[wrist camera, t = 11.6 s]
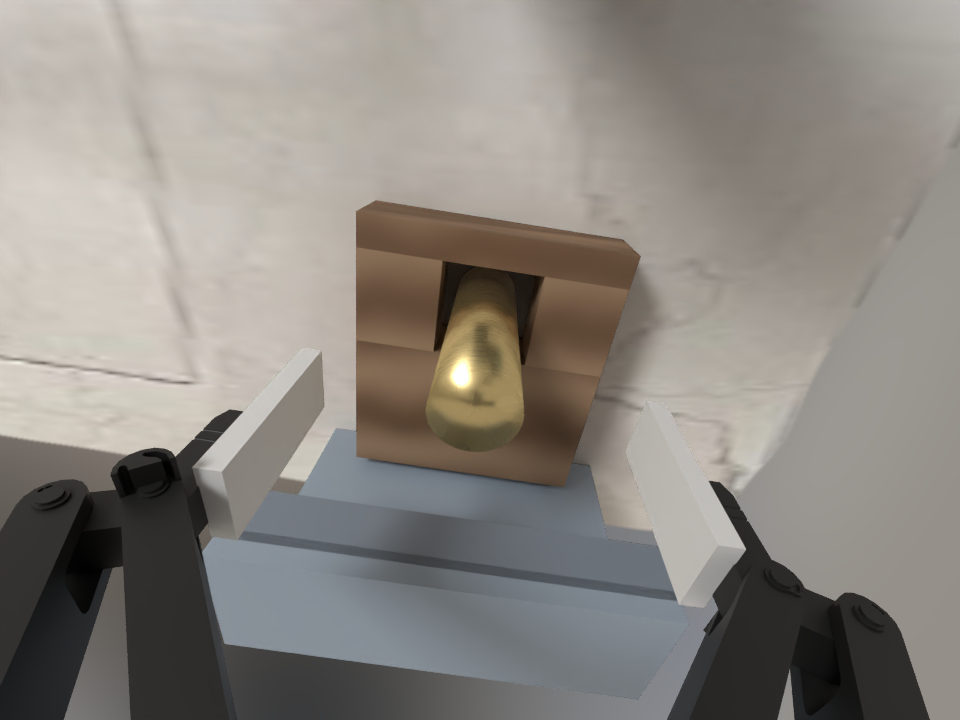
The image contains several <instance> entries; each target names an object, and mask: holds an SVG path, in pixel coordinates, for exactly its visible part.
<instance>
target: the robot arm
mask: <svg viewBox="0 0 960 720" xmlns="http://www.w3.org/2000/svg"><path fill="white" fill-rule="evenodd" d="M323 408H324V389H323V370H322V352H321V351H320V350H314V349H307V348H301V350H300V351H299V352H298V353H297V354H296V355H295V356H294V357H293V358H292V359H291V360H290V362H289V363H288V364H287V365H286V366H285V367H284V368H283V369H282V370H281V371H280V372H279V373H278V375H277V376H276V377H275V378H274V379H273V380H272V381H271V382H270V383H269V384H268V385H267V387H266V388H265V389H264V390H263V391H262V392H261V393H260V394H259V395H258V396H257V397H256V399H255V400H254V401H253V402H252V403H251V404H250V405H249V406H248V407H247V408H246V409H245V410H244V412H243V411H237V410H228V411H226V412H224V413H223V414H221V415H219V416H217V417H215V418H214V419H213V420H212V421H211V422H210V423H209V424H208V425H207V426H206V427H205V428H204V430H203V431H201V432H200V433H199V434H198V435H197V436H196V437H195V439H194V440H192V441H191V442H190V443H189V444H188V445H187V446H186V447H185V448H184V449H183V450H182V451H181V452H180V453H179V454H178V455H177V456H176V457H175V456H174V454H173V453H172V452H171V451H169V450H167V449H162V448H151V449H145V450H141V451H138V452H135V453H132V454H130V455H128V456H126V457H125V458H123V459H122V460H120V461H119V462H118V463H117V464H116V465H115V466H114V467H113V469H112V472H111V478H112V480H113V482H114V485H115V487H116V490H110V491H99V492H89V490H88V488H87V486H86V485H85V484H84V483H83V482H81V481H78V480H74V479H73V480H60V481H56V482H52V483H48V484H46V485H43V486H41V487H39V488H37V489H34V490H33V491H31V492H30V493H28V494H27V495H25V496H24V497H23V498H22V499H21V500H20V501H19V502H18V503H17V505H16V506H15V508H14V509H13V511H12V513H11V515H10V516H9V518H8V519H7V521H6V523H5V524H4V526H3V528H2V529H1V531H0V720H64V717H65V713H66V711H67V707H68V704H69V701H70V698H71V695H72V692H73V689H74V686H75V682H76V679H77V677H78V673H79V670H80V667H81V664H82V661H83V658H84V655H85V652H86V649H87V646H88V642H89V639H90V636H91V633H92V630H93V627H94V624H95V621H96V617H97V614H98V611H99V608H100V605H101V602H102V599H103V596H104V592H105V590H106V587H107V584H108V580H109V577H110V574H111V571H112V568H114V567H121V566H123V569H124V589H125V590H124V591H125V609H126V632H127V653H128V673H129V693H130V713H131V720H237V716H236V711H235V706H234V701H233V697H232V692H231V687H230V682H229V677H228V673H227V668H226V663H225V658H224V654H223V649H222V645H221V639H220V634H219V630H218V625H217V620H216V615H215V610H214V606H213V601H212V596H211V591H210V586H209V582H208V577H207V572H206V567H205V563H204V558H203V553H202V549H201V543H200V539H199V536H198V535H199V534H200V533H201V531H202V530H203V529H204V527H205V526H206V525H207V524H208V527H209V531H210V535H211V537H217V538H224V539H231V540H238V538H239V537H240V535H241V534H242V532H243V531H244V529H245V528H246V526H247V525H248V523H249V522H250V520H251V519H252V517H253V515H254V514H255V512H256V511H257V509H258V508H259V506H260V505H261V503H262V502H263V500H264V499H265V497H266V495H267V494H268V492H269V491H270V489H271V488H272V486H273V485H274V483H275V482H276V480H277V478H278V477H279V476H280V474H281V472H282V471H283V469H284V468H285V466H286V465H287V463H288V462H289V460H290V459H291V457H292V456H293V454H294V452H295V451H296V449H297V448H298V446H299V445H300V443H301V442H302V440H303V439H304V437H305V436H306V434H307V433H308V431H309V429H310V428H311V426H312V425H313V423H314V422H315V420H316V419H317V417H318V416H319V414H320V413H321V411H322V409H323ZM625 453H626V456H627V458H628V461H629V464H630V467H631V470H632V473H633V476H634V478H635V481H636V484H637V487H638V490H639V493H640V495H641V498H642V501H643V504H644V507H645V510H646V513H647V515H648V518H649V521H650V524H651V527H652V530H653V532H654V535H655V538H656V541H657V544H658V547H659V550H660V552H661V555H662V558H663V561H664V564H665V567H666V569H667V572H668V575H669V578H670V581H671V584H672V587H673V589H674V592H675V595H676V598H677V601H678V604H679V605H684V606H691V607H698V608H705V606H706V605H707V604H708V602H709V601H710V600H711V598H712V597H713V598H714V600H715V602H716V604H717V607H718V609H719V610H718V611H717V612H716V614H715V615H714V616H713V618H712V619H711V620H710V622H709V623H708V624H707V626H706V627H705V629H704V631H705V632H706V635H705V637H704V639H703V641H702V643H701V646H700V648H699V650H698V652H697V655H696V657H695V659H694V661H693V663H692V665H691V668H690V670H689V672H688V675H687V677H686V679H685V681H684V683H683V685H682V688H681V690H680V692H679V694H678V697H677V699H676V701H675V703H674V705H673V708H672V710H671V712H670V714H669V716H668V719H667V720H777V718H778V714H779V710H780V706H781V702H782V698H783V694H784V690H785V686H786V682H787V678H788V673H789V669H790V673H791V684H792V695H793V707H794V718H795V720H930V719H929V716H928V713H927V710H926V707H925V704H924V701H923V697H922V695H921V691H920V688H919V686H918V682H917V679H916V676H915V673H914V670H913V668H912V664H911V661H910V658H909V655H908V652H907V649H906V646H905V643H904V640H903V637H902V634H901V632H900V630H899V628H898V626H897V624H896V623H895V621H893V619H892V618H891V617H890V616H889V615H888V613H887V612H885V611H884V610H883V609H882V608H880V607H879V606H878V605H877V604H875V603H874V602H872V601H871V600H869V599H867V598H865V597H863V596H861V595H857V594H855V593H844V594H842V595H841V596H840V597H839V598H838V599H837V600H836V601H834V600H831V599H829V598H827V597H824V596H822V595H819V594H817V593H814V592H812V591H810V590H807V589H805V588H804V586H803V584H802V582H801V581H800V580H799V579H798V578H797V576H795V574H794V573H793V572H791V571H790V570H789V569H787V568H786V567H785V566H783V565H781V564H779V563H777V562H775V561H773V560H771V558H770V556H769V555H768V553H767V551H766V550H765V548H764V546H763V545H762V543H761V542H760V540H759V538H758V536H757V535H756V533H755V532H754V530H753V528H752V526H751V525H750V523H749V522H748V521H747V518H746V516H745V515H744V513H743V511H741V510H740V507H739V505H738V503H737V501H736V500H735V498H734V496H733V495H732V494H731V493H730V492H729V491H728V490H727V489H726V488H725V487H724V486H723V485H722V484H721V483H720V482H714V481H708V479H707V478H706V476H705V474H704V472H703V470H702V469H701V467H700V465H699V463H698V461H697V460H696V458H695V456H694V454H693V452H692V451H691V449H690V447H689V445H688V443H687V442H686V440H685V438H684V436H683V434H682V433H681V431H680V429H679V427H678V425H677V424H676V422H675V420H674V418H673V416H672V414H671V413H670V411H669V409H668V407H667V405H666V404H665V403H659V402H652V401H646V404H645V406H644V408H643V411H642V413H641V416H640V418H639V420H638V423H637V425H636V428H635V430H634V432H633V435H632V437H631V440H630V442H629V444H628V447H627V449H626V452H625Z"/></svg>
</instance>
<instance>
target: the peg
mask: <svg viewBox="0 0 960 720" xmlns="http://www.w3.org/2000/svg"><path fill="white" fill-rule="evenodd" d="M426 417H427V421H428V424H429V426H430V428H431V429H432V431H433V432H434V433H435V435H436V436H437V437H438V438H439V439H441V440H442V441H443V442H445V443H446V444H448V445H450V446H452V447H454V448H457V449H460V450H463V451H469V452H485V451H490V450H494V449H497V448H500V447H502V446H504V445H505V444H507V443H508V442H510V441H511V440H512V439H513V438H514V437H515V436H516V435H517V434H518V432H519V431H520V429H521V427H522V424H523V421H524V403H523V389H522V376H521V363H520V349H519V336H518V323H517V310H516V296H515V287H514V284H513V282H512V280H511V278H510V277H509V276H508V275H507V274H506V273H505V272H504V271H502V270H498V269H492V268H485V267H476V268H474V269H472V270H470V271H469V272H467V273H466V274H465V275H464V277H463V278H462V279H461V281H460V284H459V287H458V290H457V294H456V298H455V301H454V305H453V309H452V312H451V316H450V320H449V323H448V327H447V331H446V334H445V338H444V341H443V345H442V349H441V352H440V356H439V360H438V363H437V367H436V371H435V374H434V378H433V382H432V385H431V389H430V392H429V396H428V400H427V404H426Z"/></svg>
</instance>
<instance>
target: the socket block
mask: <svg viewBox="0 0 960 720" xmlns="http://www.w3.org/2000/svg"><path fill="white" fill-rule="evenodd" d="M640 257H641V256H640V255H639V254H638V253H637V252H636V251H634V250H633V249H632V248H631V247H630V246H629V245H628V244H627V243H626V242H625V241H624V240H621V239H615V238H608V237H602V236H596V235H590V234H583V233H577V232H571V231H564V230H558V229H552V228H546V227H539V226H533V225H527V224H520V223H514V222H508V221H502V220H495V219H489V218H483V217H476V216H470V215H464V214H457V213H451V212H445V211H439V210H432V209H426V208H420V207H413V206H407V205H401V204H395V203H388V202H382V201H374V202H372V203H370V204H369V205H367V206H365V207H363V208H361V209H360V210H358V211H356V457H360V458H367V459H374V460H381V461H388V462H395V463H402V464H409V465H415V466H422V467H429V468H436V469H443V470H450V471H457V472H463V473H470V474H477V475H484V476H491V477H498V478H505V479H512V480H518V481H525V482H532V483H539V484H546V485H553V486H560V487H564V486H565V483H566V480H567V477H568V474H569V471H570V468H571V465H572V462H573V459H574V456H575V453H576V450H577V447H578V444H579V441H580V438H581V435H582V432H583V429H584V426H585V422H586V419H587V416H588V413H589V410H590V407H591V404H592V401H593V398H594V395H595V392H596V389H597V386H598V383H599V380H600V377H601V374H602V371H603V368H604V365H605V362H606V359H607V356H608V353H609V350H610V347H611V344H612V341H613V338H614V335H615V332H616V329H617V326H618V323H619V320H620V317H621V314H622V311H623V308H624V305H625V302H626V299H627V296H628V293H629V290H630V287H631V284H632V281H633V278H634V275H635V272H636V269H637V266H638V263H639V260H640ZM448 262H453V263H460V264H466V265H472V266H479V267H485V268H492V269H498V270H504V271H511V272H517V273H524V274H530V275H536V279H535V284H534V289H533V293H532V298H531V303H530V307H529V312H528V317H527V321H526V326H525V331H524V335H523V339H522V338H519V349H520V363H521V376H522V389H523V403H524V421H523V424H522V427H521V429H520V431H519V432H518V434H517V435H516V436H515V437H514V438H513V439H512V440H511V441H510V442H508V443H507V444H505V445H504V446H502V447H500V448H497V449H494V450H490V451H485V452H469V451H463V450H460V449H457V448H454V447H452V446H450V445H448V444H446V443H445V442H443V441H442V440H441V439H439V438H438V437H437V436H436V435H435V433H434V432H433V431H432V429H431V428H430V426H429V424H428V421H427V417H426V404H427V400H428V396H429V392H430V389H431V385H432V382H433V378H434V374H435V371H436V367H437V363H438V360H439V356H440V352H441V349H442V345H443V341H444V338H445V334H446V331H447V327H443V326H442V318H443V309H444V300H445V290H446V281H447V272H448Z"/></svg>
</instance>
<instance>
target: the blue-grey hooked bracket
mask: <svg viewBox="0 0 960 720" xmlns="http://www.w3.org/2000/svg"><path fill="white" fill-rule="evenodd" d="M202 553H203V558H204V563H205V567H206V572H207V577H208V582H209V586H210V591H211V596H212V600H213V604H214V607H215V611H216V614H217V618H218V621H219V625H220V628H221V632H222V636H223V639H224V643H225V644H230V645H238V646H245V647H253V648H260V649H267V650H275V651H282V652H290V653H297V654H304V655H312V656H320V657H326V658H334V659H342V660H349V661H356V662H363V663H371V664H378V665H386V666H393V667H401V668H408V669H416V670H423V671H430V672H438V673H445V674H453V675H460V676H467V677H475V678H482V679H489V680H497V681H505V682H512V683H519V684H527V685H535V686H541V687H549V688H556V689H563V690H572V691H578V692H586V693H594V694H600V695H608V696H615V697H623V698H630V699H637V700H638V699H639V697H640V696H641V694H642V693H643V692H644V690H645V689H646V687H647V686H648V684H649V683H650V681H651V680H652V678H653V677H654V675H655V674H656V672H657V671H658V669H659V668H660V667H661V665H662V664H663V662H664V661H665V659H666V658H667V656H668V655H669V653H670V652H671V651H672V649H673V648H674V646H675V645H676V643H677V642H678V640H679V639H680V637H681V636H682V634H683V633H684V631H685V630H686V629H687V627H688V626H689V621H688V618H687V615H686V613H685V610H684V607H683V605H679V604H678V601H677V598H676V595H675V592H674V589H673V587H672V584H671V581H670V578H669V575H668V572H667V569H666V567H665V564H664V561H663V558H662V555H661V552H660V550H659V547H658V546H652V545H646V544H639V543H632V542H625V541H618V540H611V539H608V536H607V533H606V528H605V524H604V520H603V516H602V512H601V508H600V504H599V500H598V496H597V492H596V488H595V484H594V480H593V476H592V472H591V468H590V466H587V465H580V464H574V463H572V465H571V468H570V471H569V474H568V477H567V480H566V483H565V486H564V487H560V486H553V485H546V484H539V483H532V482H525V481H518V480H512V479H505V478H498V477H491V476H484V475H477V474H470V473H463V472H457V471H450V470H443V469H436V468H429V467H422V466H415V465H409V464H402V463H395V462H388V461H381V460H374V459H367V458H360V457H356V431H349V430H342V429H336V430H335V431H334V433H333V435H332V437H331V438H330V440H329V442H328V444H327V445H326V447H325V449H324V451H323V452H322V454H321V456H320V458H319V459H318V461H317V463H316V465H315V467H314V468H313V470H312V472H311V474H310V475H309V477H308V479H307V481H306V482H305V484H304V486H303V488H302V490H301V491H300V493H299V495H297V494H290V493H283V492H276V491H269V492H268V494H267V495H266V497H265V499H264V500H263V502H262V503H261V505H260V506H259V508H258V509H257V511H256V512H255V514H254V515H253V517H252V519H251V520H250V522H249V523H248V525H247V526H246V528H245V529H244V531H243V532H242V534H241V535H240V537H239V538H238V540H231V539H224V538H217V537H213V538H212V539H211V541H210V542H209V544H208V545H207V546H206V548H205V549H204V551H203V552H202Z"/></svg>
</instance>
